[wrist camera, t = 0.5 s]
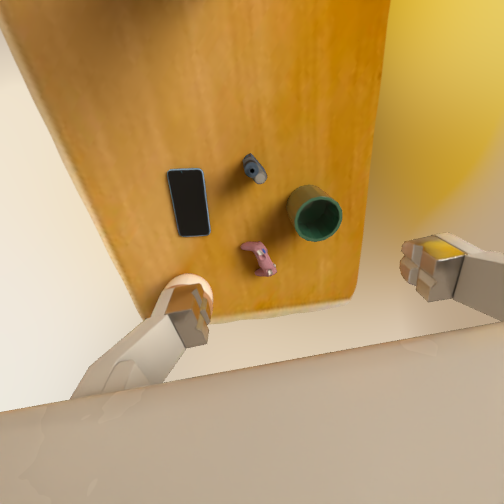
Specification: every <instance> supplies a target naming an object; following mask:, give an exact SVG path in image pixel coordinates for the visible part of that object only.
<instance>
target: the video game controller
mask: <svg viewBox="0 0 504 504" xmlns="http://www.w3.org/2000/svg"><path fill="white" fill-rule="evenodd" d="M241 249H242V250H249V251H253V252H254V254H255V256H256V258H257V259H258V263H259V266H260V267H261V268H260V269H257V270H256V271H255V275H257V276H267V277H269V276H272V275H274V274H275V273H276V272H277V270H276V265H275V264H273V263H272V261H271V259H270V257H269V256H268V254H267V249H266V247H265V246H264V245H263V244H262V243H261V242H260V241H259V242H246V243H243V244H242V245H241Z"/></svg>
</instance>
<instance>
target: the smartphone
mask: <svg viewBox="0 0 504 504" xmlns="http://www.w3.org/2000/svg"><path fill="white" fill-rule="evenodd" d="M167 177H168V182H169V187H170V192H171V197H172V202H173V207H174V212H175V217H176V222H177V227H178V232H179V234H180V236H183V237H189V236H207V235H209V234H210V231H211V230H210V222H209V214H208V206H207V198H206V188H205V180H204V174H203V171H202V170H201V169H199V168H188V169H170V170H169V171H168V172H167Z"/></svg>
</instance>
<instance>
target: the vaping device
mask: <svg viewBox="0 0 504 504" xmlns="http://www.w3.org/2000/svg"><path fill="white" fill-rule="evenodd" d="M243 167H244V170H245V174H246V175H247V176H248V177H251V178H252V179H253V180H254V181H255V182H256V183H257V184H262V183H264V182H265V181H266V179H267V174H266V172H265V170H264V168H263V167H262V166H261V164H260V163H259V162H258V161H257V160H256V158H255V157H254V156H253V155H252V154H251V153H250V154H248V155H246V156H245V158H244V160H243Z"/></svg>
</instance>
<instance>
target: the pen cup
mask: <svg viewBox="0 0 504 504" xmlns="http://www.w3.org/2000/svg"><path fill="white" fill-rule="evenodd" d="M286 210H287V214H288V216H289V218H290V220H291V222H292V224H293V226H294V228H295V230H296V231H297V233H298V234H299V236H300V237H302V238H303V239H305V240H307V241H313V242H317V241H322V240H325V239H327V238H329V237H330V236H332V235H333V234H334V233H335V232H336V231H337V230H338V228H339V226H340V224H341V221H342V209H341V208H340V206H339V204H338V202H336V201H335V200H334V199H333V198H332V197H330V196H329V195H328V194H327V193H326V192H324V191H323V190H322V189H320V188H319V187H317V186H314V185H304V186H301V187H299V188H297V189H296V190H294V191H293V192H292V193H291V195H290V196H289V198H288V200H287V204H286Z"/></svg>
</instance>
